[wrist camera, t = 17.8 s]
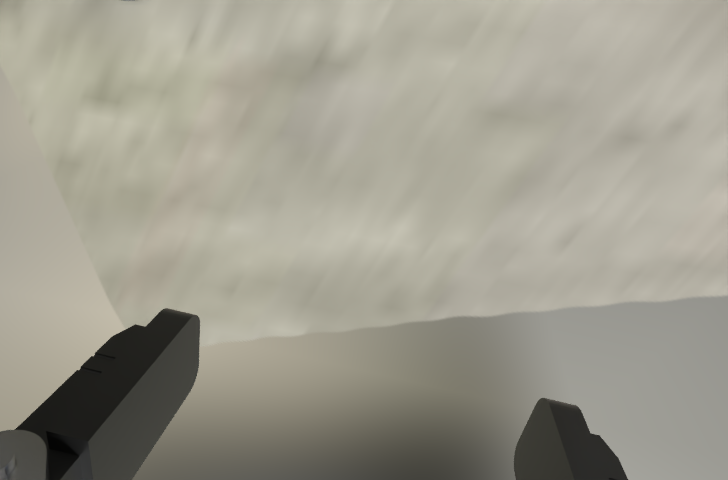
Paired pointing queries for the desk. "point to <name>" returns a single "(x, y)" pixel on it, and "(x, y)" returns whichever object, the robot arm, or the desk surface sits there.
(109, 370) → the robot arm
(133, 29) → the desk surface
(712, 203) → the desk surface
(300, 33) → the desk surface
